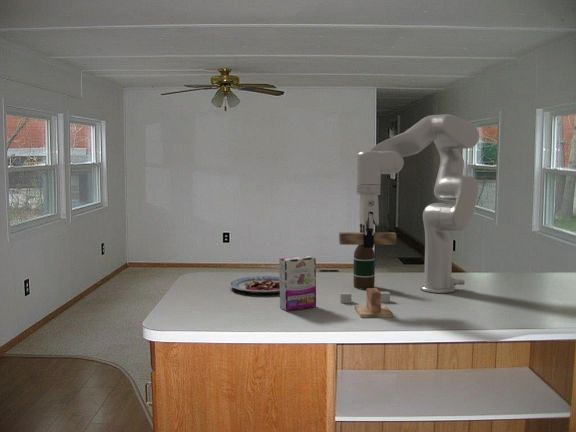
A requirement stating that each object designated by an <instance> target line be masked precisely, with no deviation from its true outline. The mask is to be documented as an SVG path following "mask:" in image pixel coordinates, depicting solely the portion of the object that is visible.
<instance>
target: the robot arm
mask: <svg viewBox="0 0 576 432" xmlns="http://www.w3.org/2000/svg"><path fill="white" fill-rule="evenodd" d="M479 132H480V131H479V129H478V128H477V126H475V124H473V123H472V122H470V121H468V120H465V119H463V118H461V117H459V116H457V115H454V114H449V113H444V114H429V115H426V116H425V117H423V118H421V119H420V120H419V121H418V122H416V123H415V124H414V125H412V126H411V127H410V128H408V129H406V130H405V131H404V132H401V133H399V134H397V135H394V136H393V137H390V138H387V139H385V140H382V141H381V142H379V143H377V144H376V145H374V146H373V147H371V148H370V149H369V150H363V151H360V152H358V154H357V155H356V156H357V157H356V159H357V160H356V162H357V164H356V195H359V224H362V232H365V235H364V245H362V246H364V248H373V249H374V247H375V245H374V232H375V226H376V227H377V226H379V225H380V216H379V215H380V214H379V213H380V212H379V210H380V209H379V208H380V207H379V197H378V196H380V195H381V183H382V182H381V177H382V175H395V174H397V173H399V172H400V171H402V169H403V167H404V164H405V161H404V158H405V157H406V158H407V157H410V156H414V155H417V154H419V153H421V152H422V151H423V150H424V149H425V148H426V147H427V146H429V145H431V144H432V142H433V143H434V145H435V147H436V149H437V151H438V154H439V157H440V158H439V159H440V163H439V166H438V167H439V168H438V173H437V176H436V179H435V182H434V187H433V194H434V197H435V198H436V199H438V200H440V201H445V202H444V203H442V202H435V203H430V204H428V205H426V206H425V208H424V210H423V212H422V222H423V228H424V241H425V242H424V279H423V280H424V281H423V283H421V284H420V285H419V289H420V290H421V291H424V292H427V293H432V294H433V293H434V294H437V293H438V294H447V293H453V292H456V286H457V285H459V286H463V285H465V279H460V278H454V277H453V276H452V261H453V259H452V258H453V239H452V237H451V235H450V232H458V233H459V232H464V231H466V230H467V229H469V227H471V226H470V225H471V223H472V221H473V216H474V214H475V213H474V212H475V210H476V209H475V208H476V205H477V201H478V196H479V184H478V181H477V179H476V178H475V177H473V176H472V175H468V174H467V175H466V174H463V173H464V169H465V160H464V158H463V155H462V153H461V152H460V150H461V149H471V148H474V147H475V146H477V144H478V143H479V141H480V133H479ZM446 202H455V204H454V203H446ZM449 231H450V232H449Z"/></svg>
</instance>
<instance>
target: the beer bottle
mask: <svg viewBox="0 0 576 432" xmlns="http://www.w3.org/2000/svg"><path fill="white" fill-rule="evenodd" d="M359 227H360V229H359V232H362V224H361V223H359ZM375 256H376V255H375V251H374V247H373V248H364V246H362V245H357V247H356V248H355V250H354V253H353V288H355V289H357V290H358V289H359V290H367V288H375V281H376V280H375V278H376V277H375V276H376V275H375V270H376V269H375V267H376V260H375V259H376V257H375Z"/></svg>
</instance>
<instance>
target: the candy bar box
mask: <svg viewBox="0 0 576 432" xmlns="http://www.w3.org/2000/svg"><path fill="white" fill-rule="evenodd" d="M316 260H317V259H316V257H315V256H312V255H302V256H301V255H299V256H290V257H281V258H278V262H279V263H278V265H279V266H278V267H279V272H278V273H279V276H278V277H279V278H280V292H279V308H280V309H281V310H283V311H285V312H290V311H291V312H292V311H297V310H305V309H311V308H316V307H317V276H316V275H317V271H316V270H317V269H316V267H317V266H316V263H317V262H316Z"/></svg>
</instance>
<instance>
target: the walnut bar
mask: <svg viewBox="0 0 576 432" xmlns="http://www.w3.org/2000/svg"><path fill="white" fill-rule="evenodd" d="M364 235H365V232H360V231H359V232H357V231H356V232H353V231H352V232H349V231H348V232H342V231H341V232H339V233H338V243H339V245H341V246H343V245H344V246H345V245H346V246H347V245H350V246H351V245H354V246H355V245H357V246H358V245H364ZM375 245H376V246H377V245H378V246H379V245H383V246H384V245H386V246H387V245H388V246H390V245H391V246H393V245H394V246H395V245H397V232H385V231H383V232H381V231H380V232H378V231H377V232H375V231H374V246H375Z"/></svg>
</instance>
